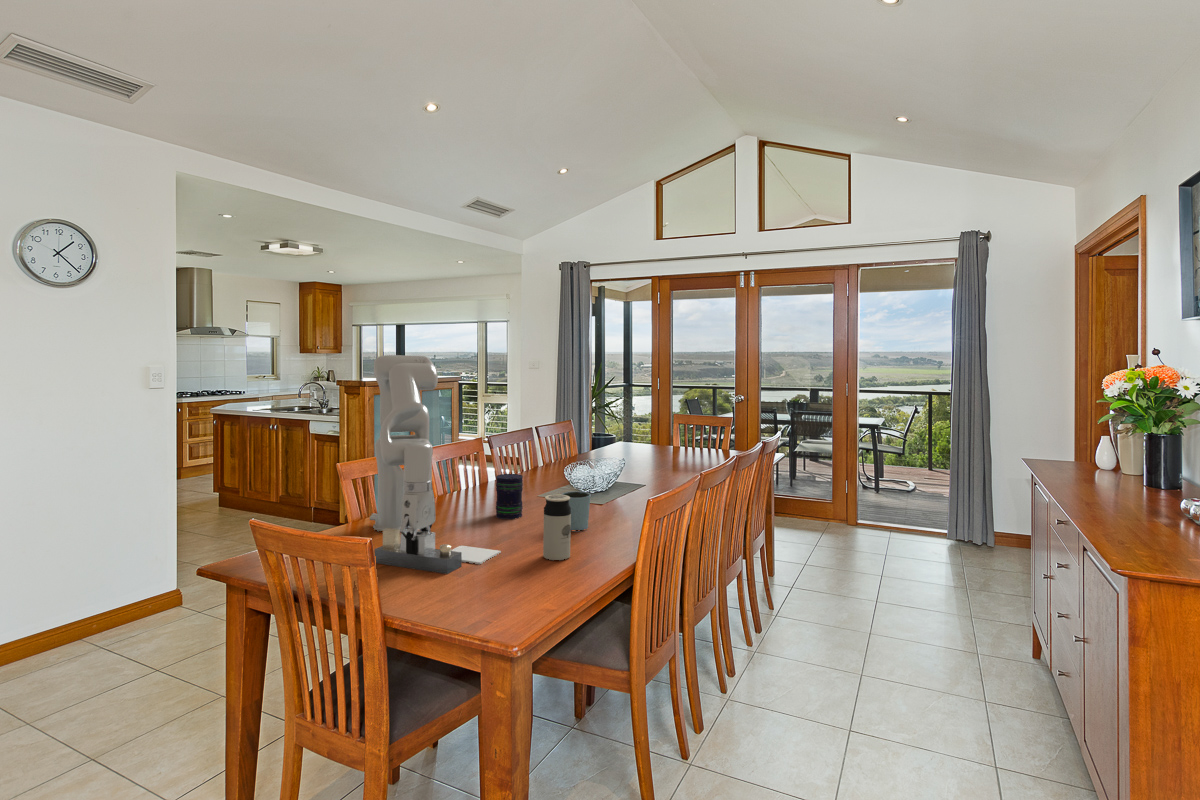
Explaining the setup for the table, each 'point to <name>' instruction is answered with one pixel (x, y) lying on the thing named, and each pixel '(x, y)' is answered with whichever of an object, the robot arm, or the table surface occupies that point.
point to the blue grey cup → (579, 509)
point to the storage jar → (509, 496)
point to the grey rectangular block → (420, 542)
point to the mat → (475, 554)
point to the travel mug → (557, 527)
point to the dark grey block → (416, 555)
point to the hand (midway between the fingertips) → (417, 549)
